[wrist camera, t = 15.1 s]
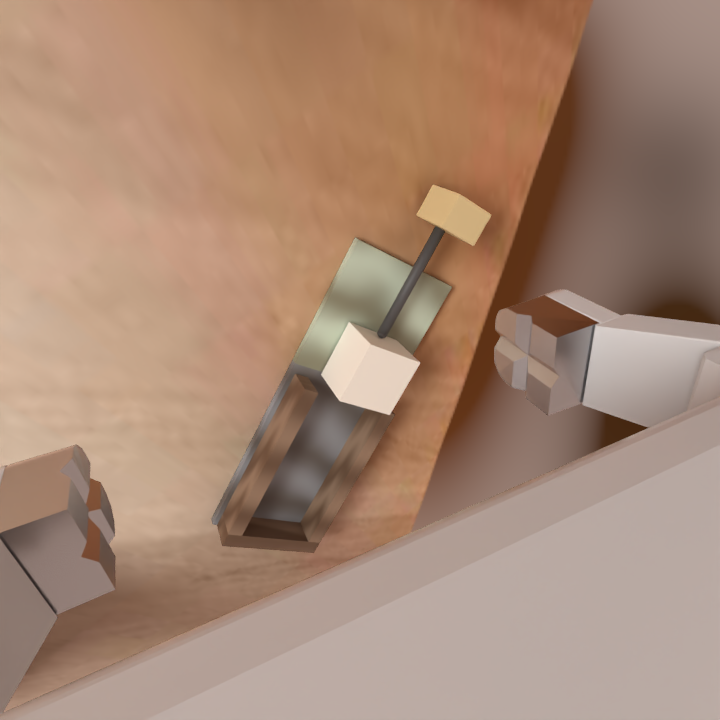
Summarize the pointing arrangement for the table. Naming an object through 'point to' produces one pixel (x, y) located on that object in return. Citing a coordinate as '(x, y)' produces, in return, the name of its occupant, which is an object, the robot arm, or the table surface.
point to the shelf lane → (321, 413)
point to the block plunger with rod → (374, 349)
